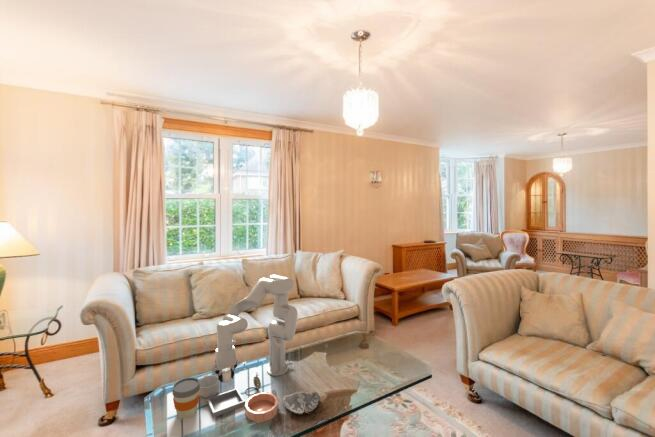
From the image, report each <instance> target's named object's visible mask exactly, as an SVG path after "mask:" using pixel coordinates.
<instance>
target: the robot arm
mask: <svg viewBox="0 0 655 437" xmlns="http://www.w3.org/2000/svg"><path fill="white" fill-rule="evenodd" d="M294 287H295V282H294V280H293V278H291V277H288V276H284V275H279V274H270V276H269V277H262V278H260V279H259V280H258V281H257V282H256V283H255V285H254V286H253V288H252V289H251V290H250V291H249V293H248V294H247V295H246V297H244V298H243V299H241V300H239V301H237V302H236V303H234V304H233V305H231V307H230V308H229V309H228V310H227V311H226V313H225V315H224V316H223V318H222V320H221V321H219V322H218V323H217V324H216V338H217V339H216V340H217V341H216V342H217V345H216V346H217V348H216V349H215V352H214V364H213V365H212V367H211V368H210V371H211V372H213V373H215V374H217V377H218V380H219V383H223V382H222V374H221V372H222V369H225V368H230V369H231V380H233V379H234V376H235V371H236V368H237V367H238V365H239V364H240V363H241V361H240V360H239V359H238V358H237V355H236V349H235V346H234V345H236V344H237V343H236V340H234V339H233V335H237V334H241V333H243V332H245V331H246V330H247V329H248V325H249V324H248V321H247V319H246V318H243V317H241V316H239V315H240V314H241V313H243V312H244V311H247V310H252V309H255V308H258V307H259V306H260V305H261V304H262V302H263V301H264V299H265V298H266V297H267V295H271V296H274V300H273V307H272V308H273V309H272V315H273V317H274V318H276V319H274V320H271V321H270V322H269V323H268V326H267V332H268V339H269V366H268V367H267V369H266V370H267V371H266V372H267V374H269V376H273V377H280V376H283V375H285V374H287V372H288V369H289V368H288V366H291V365H293V361H292V360H290V361H289V360H286V341H287V342H289V341H292V340H293V338H294V337H295V334H296V330H297V322H298V314H299V313H298V310H297V308H296V307H295V306H294V305H290V304H289V298H290V297H289V296H290V295H289V293H290V292H291V291H292V290H293V289H294Z"/></svg>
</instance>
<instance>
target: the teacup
mask: <svg viewBox="0 0 655 437" xmlns="http://www.w3.org/2000/svg"><path fill="white" fill-rule="evenodd" d="M199 383H200V389H199V392H200V394H199V397H202V398H204V399H207V398H209V397H212V396H215V395H218V394H219V393H218V392H219V391H220V380H218V375H215V374H214V375H213V374H212V375H208V374H204V375H203V377H202V378H201V379H200V380H199Z"/></svg>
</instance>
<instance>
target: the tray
mask: <svg viewBox="0 0 655 437" xmlns="http://www.w3.org/2000/svg"><path fill="white" fill-rule="evenodd" d="M206 404H207V406H208V409H209V411H210V413H211V416H212V418H216V417H218V416H222V415H223V414H226V413H230V412H233V411H235V410H238V409H240V408H243V407H245V404H246V400H245V398H244V397H243V395H242V394H241V392H240V390H239V388H237V387H235V388H233V389H230V390H227V391H224V392H221V393H217V394H216V395H214V396H212V397H209V398H206Z"/></svg>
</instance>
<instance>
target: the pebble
mask: <svg viewBox="0 0 655 437" xmlns="http://www.w3.org/2000/svg"><path fill="white" fill-rule="evenodd" d="M221 374H222V382H221V383H223V384H227V383H229V382H232V378H231V367H228V368H225V369H222V372H221Z"/></svg>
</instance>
